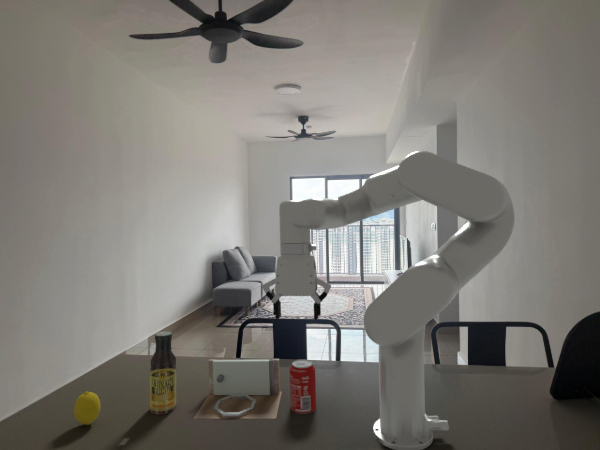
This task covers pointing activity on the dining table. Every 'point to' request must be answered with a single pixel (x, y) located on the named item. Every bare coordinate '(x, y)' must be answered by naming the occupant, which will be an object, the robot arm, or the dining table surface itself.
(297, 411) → the beverage can
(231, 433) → the dining table surface
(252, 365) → the door
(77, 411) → the lemon
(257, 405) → the base
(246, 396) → the grey octagonal ring
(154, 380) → the sauce bottle
